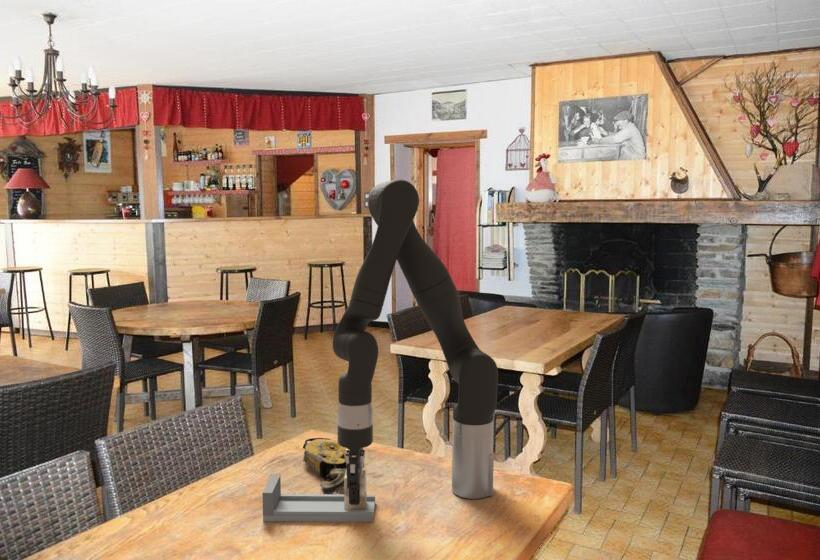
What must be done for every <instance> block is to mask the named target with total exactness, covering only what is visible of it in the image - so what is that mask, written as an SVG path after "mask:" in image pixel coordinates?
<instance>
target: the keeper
mask: <svg viewBox="0 0 820 560" xmlns="http://www.w3.org/2000/svg"><path fill="white" fill-rule="evenodd" d="M359 472H360V470H359ZM351 482H357V481H356V480H351ZM360 484H361V486H360V503H359V504H358V505H350V504H349V489H347V475H346V473H345V477H344V487H343V490H344V491H343V494H344V510H365V507H366V495H367V470H366V469H365V470H364V469H363V475H362V476H361V477H360Z"/></svg>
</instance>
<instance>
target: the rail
mask: <svg viewBox="0 0 820 560" xmlns="http://www.w3.org/2000/svg"><path fill="white" fill-rule="evenodd" d="M281 482H282V481H281V475H276V474H273V475H272V474H271V475H270V477H269V480H268V481H267V483H266V484H265V487H264V489H263V491H262V522H311V523H312V522H313V523H314V522H315V523H317V522H319V523H320V522H322V523H323V522H325V523H327V522H329V523H330V522H334V523H337V522H340V523H342V522H343V523H344V522H345V523H347V522H349V523H350V522H351V523H373V522H374V517H375V516H374V515H375V510H376V509H375V507H376V494H366V507H365V510H344V493H343V494H340V493H336V494H334V493H325V494H322V493H321V494H319V493H318V494H315V493H309V494H308V493H307V494H306V493H305V494H304V493H281V492H282V487H281Z"/></svg>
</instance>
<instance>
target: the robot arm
mask: <svg viewBox="0 0 820 560" xmlns="http://www.w3.org/2000/svg"><path fill="white" fill-rule="evenodd" d="M367 206H368V208H367V209H368V212H369V214H370V216H371V217H372V220H373V221H374V222H375V224H376V225H377V229H376V232H375V236H374V238H373V240H372V241H373V242H372V244H371V246H370V249H369V250H368V252H367V254H366V256H365V258H364V260H363V263H362V265H361V266H360V268H359V270H358V273H357V276H356V278H355V281H354V284H353V289H352V291H351V295H350V300H349V303H348V305H347V308H346V309H345V311H344V313H343V315H342V316H341V319H340V321H339V323H338V325H337V326H336V328H335V330H334V333H333V337H332V350H333V353H334V355H335V356H336V357H337V358H339V359H341V360H344V361H345V362H348V367H347V372H345V373H343V374H341V375H340V376H339V378H338V386H337V387H338V388H337V389H338V390H337V391H338V405H337V423H336V425H337V440H338V444H339V445H340V446H342V447H345V448H348V449H347V454H346V455H345V462H346V475H347V489H349V504H350V505H358V504H359V503H360V486H361V484H360V477H361V476H362V475H363V470H364V468H365V458H366V448H367V447H369V446H371V445H372V444H373V443H374V411H373V410H374V409H373V399H372V397H373V395H372V393H373V392H372V391H373V386H372V384H373V383H372V381H373V378H374V375H375V371H376V366H377V362H378V359H379V345H378V342H377V339H376V338H375V336H374V335H373V334H372V333H370V332H368V331H366V329H367V327H368V325H369V323H370V322H372V321H373V322H374V321H377V320H378V319H379V318H380V317H381V314H382V311H383V307H384V304H385V300H386V297H387V293H388V290H389V285H390V281H391V278H392V275H393V272H394V269H395V265H396V263H398V265H399V267H400V270H401V271H402V272H401V273H402V274H403V276H404V278H405V280H406V283H407V284H408V287H409V290H410V291H411V293H412V295H413V297H414V299H415V302H416V303H417V306H418V307H419V309H420V311H421V313H422V314H423V316H424V318H425V320H426V322H427V323H428V326H429V327H430V328H431V330H432V331H433V333H434V335H435V337H436V339H437V341H438V343H439V345H440V347H441V351H442V354H443V355H444V358H445V359H444V360H445V361H446V362H445V363H446V364H447V367H448V371H449V373H450V375H451V377H452V378H453V380H454V382H456V383H457V384H458V391H457V393H458V397H457V403H456V404H454V406H453V409H452V447H451V449H452V450H451V451H452V455H451V457H452V461H451V490H452V491H453V492H452V491H451V492H452V493H453V494H454V495H456V496H457V495H458V497H459V498H464V499H469V500H470V499H471V500H472V499H473V500H474V499H475V500H478V499H484V498H487V497H493V496H494V466H495V465H494V463H495V462H494V460H495V456H494V453H493V448H494V445H493V444H494V415H495V411H496V409H497V405H498V404H497V403H498V393H499V392H498V391H499V371H498V370H499V369H498V365H497V363H496V361H495V360H494V358H492V356H490V355H489V354H487V353H485V352H484V351H482V350H481V349H480V348H479V346H478V345H477V343H476V341H475V340H474V338H473V337H472V335H471V333H470V331H469V329H468V327H467V325H466V323H465V319H464V315H463V308H462V303H461V299H460V295H459V291H458V289H457V288H456V286H455V285H456V284H455V282H454V280H453V278H452V276H451V275H450V272H449V271H448V268H447V267H446V265H445V264H444V262H443V261H442V260H441V258H440V257H439V256H438V254H436V252H435V251H434V250H433V249H432V248H431V247H430V246H429V245H428V244H427V242H426V241H425V240H424V238H423V237H422V236H421V234H420V233H419V231H418V228H417V226H416V224H415V222H414V219H415V217H416V215H417V213H418V210H419V206H420V195H419V193H418V191H417V189H416V187H415V186H414V185H413V184H412V183H411V182H410V181H407V180H405V179H393V180H388V181H385V182H384V181H383V182H381V183H379V184H376V185H375V186H374V187H373V188H371V190H370V192H369V194H368V198H367ZM364 448H365V449H364ZM359 470H360V472H359ZM351 480H356V481H357V482H351Z"/></svg>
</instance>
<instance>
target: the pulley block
mask: <svg viewBox="0 0 820 560" xmlns="http://www.w3.org/2000/svg"><path fill="white" fill-rule="evenodd" d="M302 449H304V453H303V457H302V458H303V459H302V462H304V463H306V464H307V465H308V466H309V468H311V469H313V471H314V472H315V473H317V474H318V476H320V477H321V478H322V479H323V481H321V483H320V485H319V486H320V487H321V490H322V492H324V493H325V494H334V493H336V494H339V491H340V490H342V489H344V477H345V473H346V462H345V455H346V454H347V449H348V448H345V447H342V446H340V445H339V444H338V439H330V438H325V437H313V438H309V439H305V441H304V443H303V446H302ZM329 481H330V482H329Z"/></svg>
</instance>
